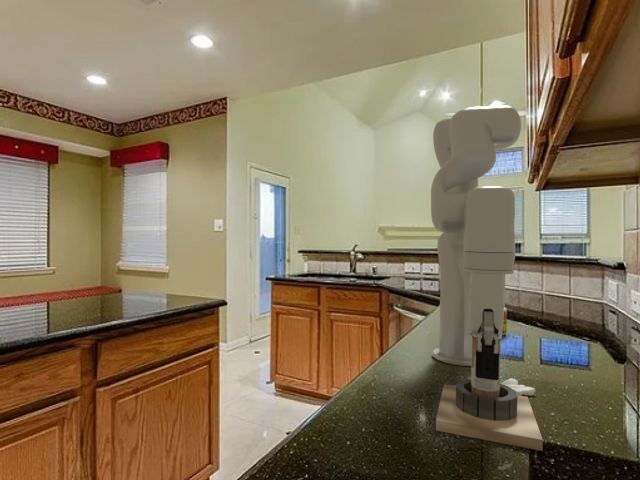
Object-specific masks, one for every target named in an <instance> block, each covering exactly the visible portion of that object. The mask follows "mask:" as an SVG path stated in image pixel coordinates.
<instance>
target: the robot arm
mask: <svg viewBox="0 0 640 480" xmlns="http://www.w3.org/2000/svg"><path fill="white" fill-rule="evenodd" d="M521 121H522V120H521V116H520V114H519V111H518V110H517V109H516V108H514V107H513V106H510V105H492V106H491V105H490V106H488V105H487V106H473V107H466V108H463V109H459V110H458V111H457V112H455V113H454V114H453V115H452V117H446V118H445V119H444V118H443V119H442V120H439V121H438V122H437V123H435V125H434V128H433V134H432V136H433V137H432V139H433V148H434V153H435V157H436V160H437V163H438V165H439V167H440V168H439V169H438V171H437V172H436V174H435V175H434V177H433V180H432V183H431V188H430V216H431V221H432V226H433V227H434V228H435V230H437V231H439V232H440V233H441V234H440V235H439V237H438V239H437V255H438V262H439V273H440V274H439V276H440V277H439V279H440V280H439V283H440V285H439V286H440V288H439V289H440V291H439V292H440V293H439V294H440V295H439V297H440V299H439V300H440V301H439V346H438V347H435V348H434V349H433V350H432V357H433V358H434V359H436V360H437V361H440V362H442V363H445V364H450V365H456V366H461V367H472V333H476V334H477V332H478V350H476V377H477V378H483V379H490V380H498V379H499V353H498V338H500V337H501V336H503V335H502V331H503V320H504V307H505V306H506V305H505V302H506V301H505V300H506V299H505V297H506V275H513V274H514V272H515V271H514V270H515V268H514V265H515V259H516V252H517V251H516V249H517V248H516V234H515V221H516V220H515V219H516V218H515V216H516V200H515V199H516V198H515V193H514V191H513V190H512V189H511V188H509V187H507V186H499V185H497V186H493V185H491V186H490V185H489V186H487V185H486V186H479V178H481V177H483V176H484V175H486V174H488V173H490V171H491V170H492V169H493V168H494V166H495V164H496V162H497V153H496V151H499V150H503V149H506V148H509V147H512V146H513V145H515V143H516V142H517V141H518V139H519V137H520V134H521V131H522V130H521V129H522V122H521ZM497 329H498V331H497Z"/></svg>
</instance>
